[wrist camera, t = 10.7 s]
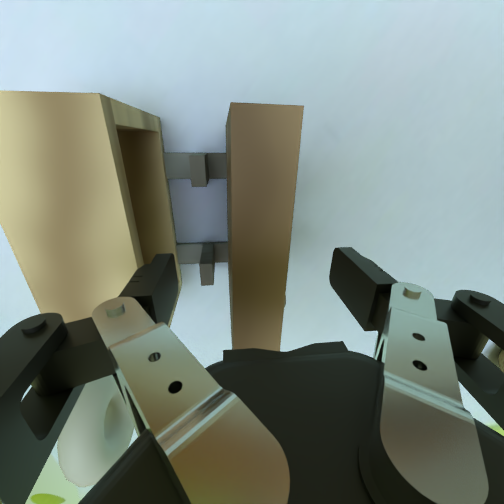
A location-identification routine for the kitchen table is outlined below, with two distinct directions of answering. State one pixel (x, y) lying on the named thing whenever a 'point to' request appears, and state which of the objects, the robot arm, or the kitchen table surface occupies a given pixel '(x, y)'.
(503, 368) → the brown potato
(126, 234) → the cabinet
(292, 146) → the door
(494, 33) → the kitchen table surface
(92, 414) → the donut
